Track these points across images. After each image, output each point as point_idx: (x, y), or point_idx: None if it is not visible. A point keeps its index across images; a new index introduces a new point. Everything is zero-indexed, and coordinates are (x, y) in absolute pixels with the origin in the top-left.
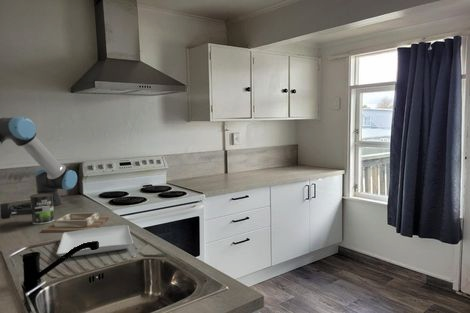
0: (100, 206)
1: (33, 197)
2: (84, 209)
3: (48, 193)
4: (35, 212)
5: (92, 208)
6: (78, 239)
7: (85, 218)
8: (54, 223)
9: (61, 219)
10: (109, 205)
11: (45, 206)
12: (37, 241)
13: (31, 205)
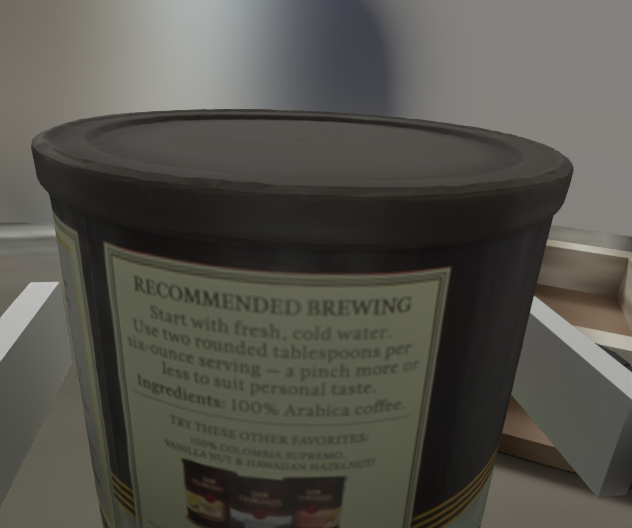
0: (20, 247)
1: (568, 184)
2: (7, 296)
3: (180, 114)
4: (624, 482)
5: (33, 270)
6: None
7: None
8: (541, 435)
9: (622, 339)
10: (48, 227)
11: (536, 300)
12: None
13: (428, 460)
